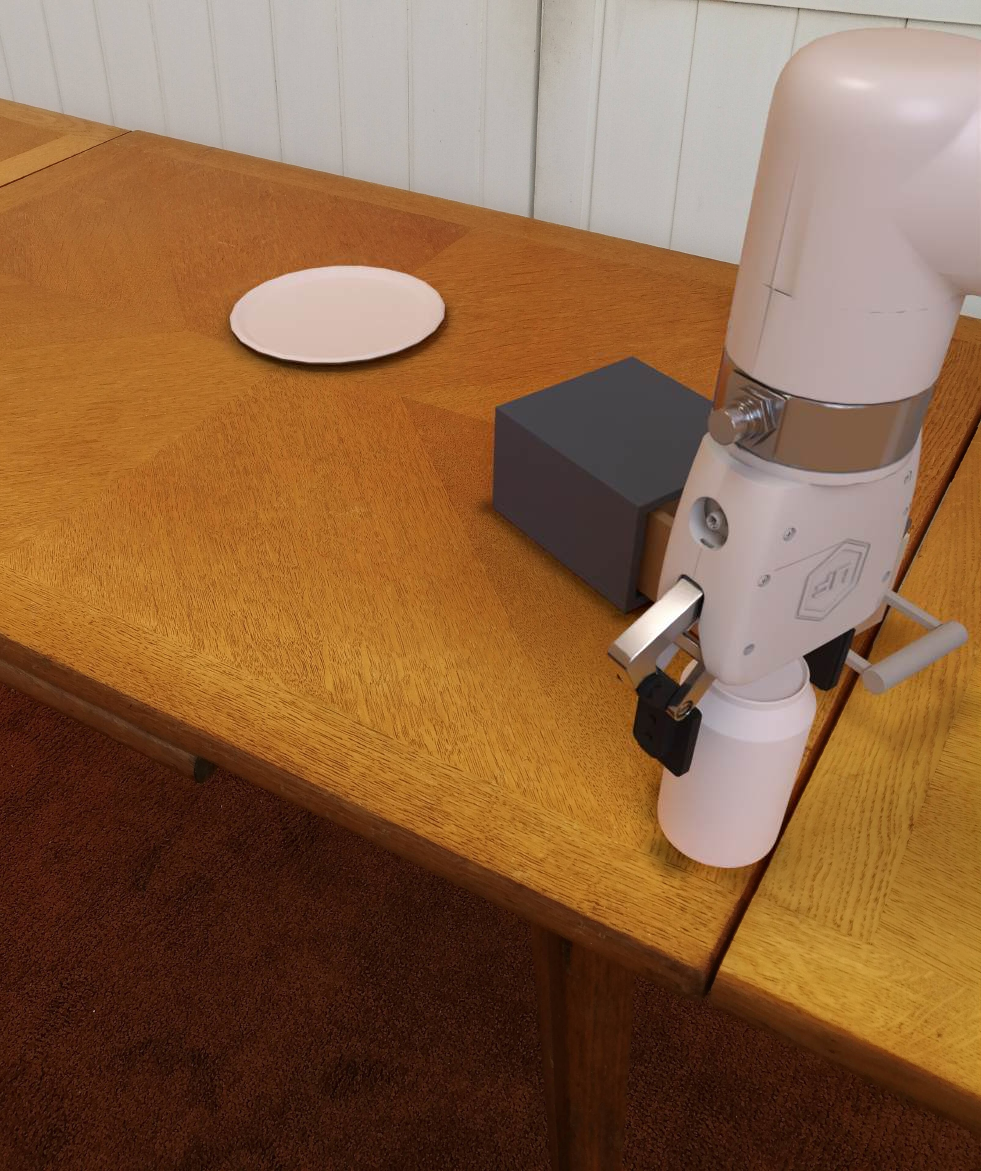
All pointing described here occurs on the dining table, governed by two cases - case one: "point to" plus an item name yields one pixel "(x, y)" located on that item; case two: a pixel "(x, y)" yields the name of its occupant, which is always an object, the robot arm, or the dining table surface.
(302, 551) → the dining table surface
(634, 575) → the cabinet
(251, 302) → the plate
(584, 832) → the dining table surface
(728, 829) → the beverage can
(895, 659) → the drawer
